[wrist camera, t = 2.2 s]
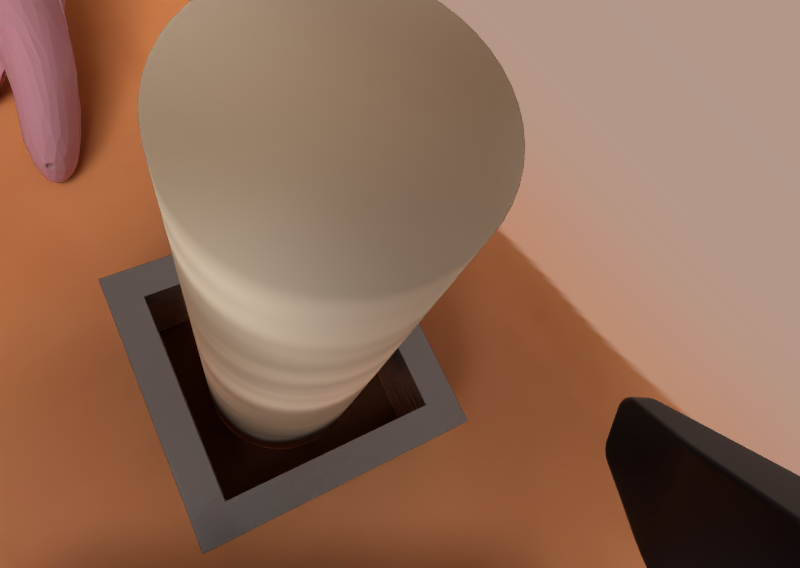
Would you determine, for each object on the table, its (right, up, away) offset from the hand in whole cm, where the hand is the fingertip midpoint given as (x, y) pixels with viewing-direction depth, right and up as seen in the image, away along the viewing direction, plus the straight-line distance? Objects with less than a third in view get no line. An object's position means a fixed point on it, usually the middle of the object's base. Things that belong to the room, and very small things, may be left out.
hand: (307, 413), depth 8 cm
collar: (-2, -1, +10) cm, 10 cm away
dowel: (-2, -1, +10) cm, 10 cm away
